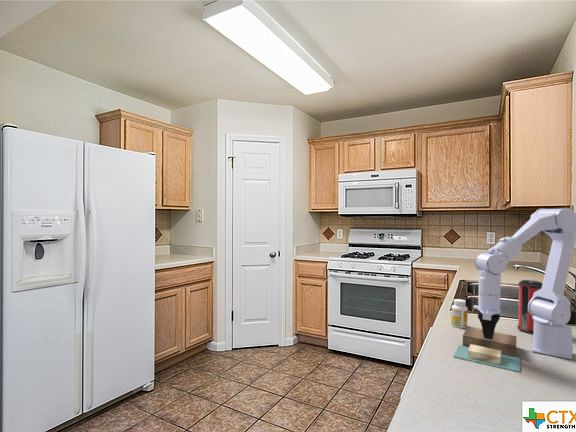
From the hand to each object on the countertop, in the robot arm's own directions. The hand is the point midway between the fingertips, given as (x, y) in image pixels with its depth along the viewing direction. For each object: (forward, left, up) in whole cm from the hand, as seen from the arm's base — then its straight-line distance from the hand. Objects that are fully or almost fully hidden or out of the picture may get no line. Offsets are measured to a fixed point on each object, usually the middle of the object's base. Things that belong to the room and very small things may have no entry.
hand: (488, 338), depth 104 cm
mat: (0, +5, -4) cm, 6 cm away
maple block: (0, +5, -2) cm, 6 cm away
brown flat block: (0, -6, -4) cm, 7 cm away
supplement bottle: (+11, -23, -5) cm, 26 cm away
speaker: (-11, -33, -5) cm, 35 cm away
